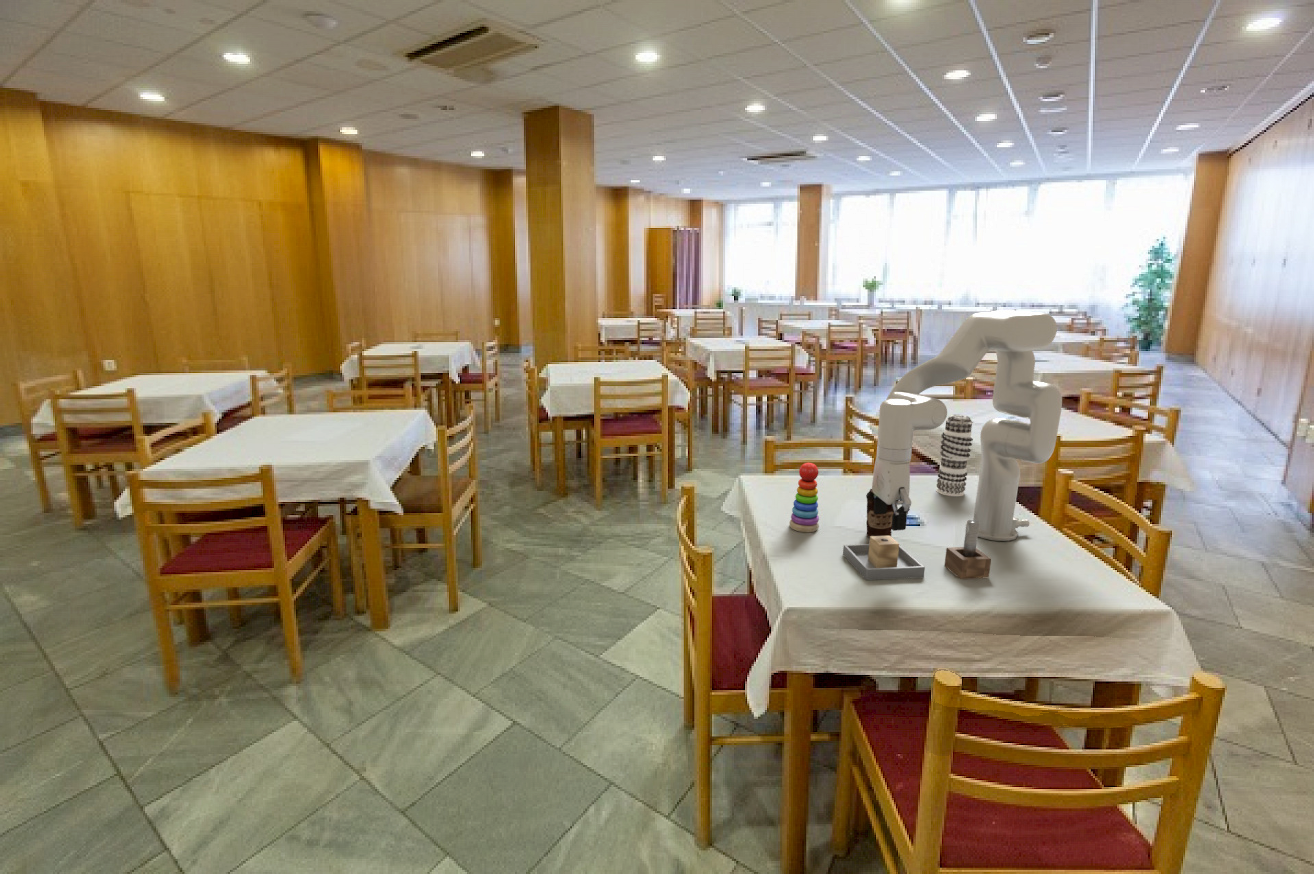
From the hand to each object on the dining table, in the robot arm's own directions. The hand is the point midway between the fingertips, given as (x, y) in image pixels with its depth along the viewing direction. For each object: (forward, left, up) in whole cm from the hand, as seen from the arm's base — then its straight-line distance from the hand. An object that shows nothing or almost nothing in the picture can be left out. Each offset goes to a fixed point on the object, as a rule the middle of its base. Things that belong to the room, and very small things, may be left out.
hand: (889, 521), depth 158 cm
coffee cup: (-6, -17, -11) cm, 21 cm away
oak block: (+1, 0, -11) cm, 11 cm away
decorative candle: (-45, -50, -11) cm, 68 cm away
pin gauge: (-18, +5, -11) cm, 21 cm away
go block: (-18, +5, -11) cm, 22 cm away
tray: (+1, 0, -11) cm, 11 cm away
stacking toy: (+12, -25, -11) cm, 30 cm away
